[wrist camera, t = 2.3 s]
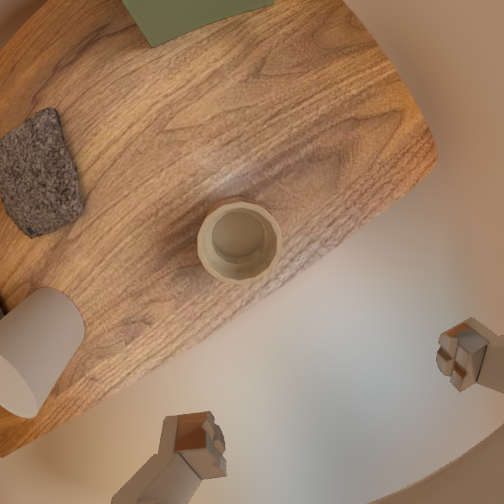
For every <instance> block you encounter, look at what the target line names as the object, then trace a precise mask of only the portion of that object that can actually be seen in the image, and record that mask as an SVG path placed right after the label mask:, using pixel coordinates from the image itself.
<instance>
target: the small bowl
mask: <svg viewBox="0 0 504 504" xmlns="http://www.w3.org/2000/svg"><path fill="white" fill-rule="evenodd" d="M282 244H283V235H282V233H281V230H280V228H279V226H278V223H277V221H276V219H275V218H274V217H273V216H272V214H271V213H270V212H269V211H268V210H267V209H265V208H264V207H263V206H262V205H261V204H260V203H258V202H257V201H256V200H254V199H250V198H246V197H241V196H236V197H231V198H226V199H223V200H220V201H219V202H218V203H217V204H215V205H214V206H213V207H211V208H210V209H209V210H208V212H207V214H206V216H205V218H204V220H203V222H202V224H201V227H200V229H199V232H198V235H197V254H198V256H199V258H200V260H201V262H202V264H203V266H204V268H205V270H206V271H207V272H208V273H210V274H211V275H213V276H214V277H215V278H217V279H218V280H219V281H221V282H224V283H229V284H234V285H238V286H239V285H245V284H250V283H254V282H257V281H259V280H261V279H262V278H264V277H265V276H266V275H268V274H269V273H270V272H272V271H273V270H274V268H275V266H276V264H277V262H278V261H279V259H280V257H281V254H282Z"/></svg>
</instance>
